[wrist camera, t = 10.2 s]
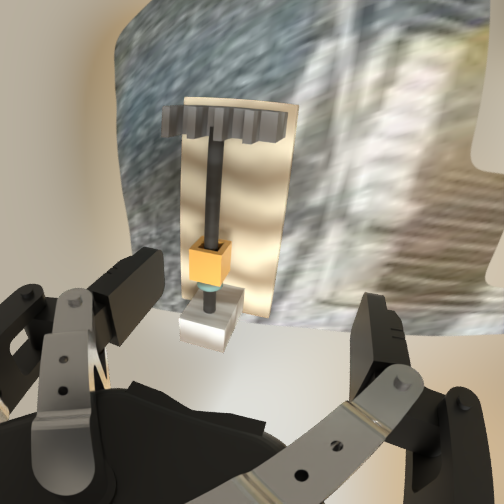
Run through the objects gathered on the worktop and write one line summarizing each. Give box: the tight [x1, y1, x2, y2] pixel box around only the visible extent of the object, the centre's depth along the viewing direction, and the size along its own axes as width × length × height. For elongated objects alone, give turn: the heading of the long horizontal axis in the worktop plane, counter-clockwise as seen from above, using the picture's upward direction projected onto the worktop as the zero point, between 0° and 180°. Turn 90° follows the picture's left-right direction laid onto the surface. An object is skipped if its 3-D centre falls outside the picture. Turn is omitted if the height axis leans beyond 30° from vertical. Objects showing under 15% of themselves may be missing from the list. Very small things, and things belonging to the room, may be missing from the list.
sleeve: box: [189, 236, 232, 287], centre depth 36 cm, size 4×4×4 cm
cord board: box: [161, 97, 299, 353], centre depth 36 cm, size 30×14×12 cm, turn 175°
